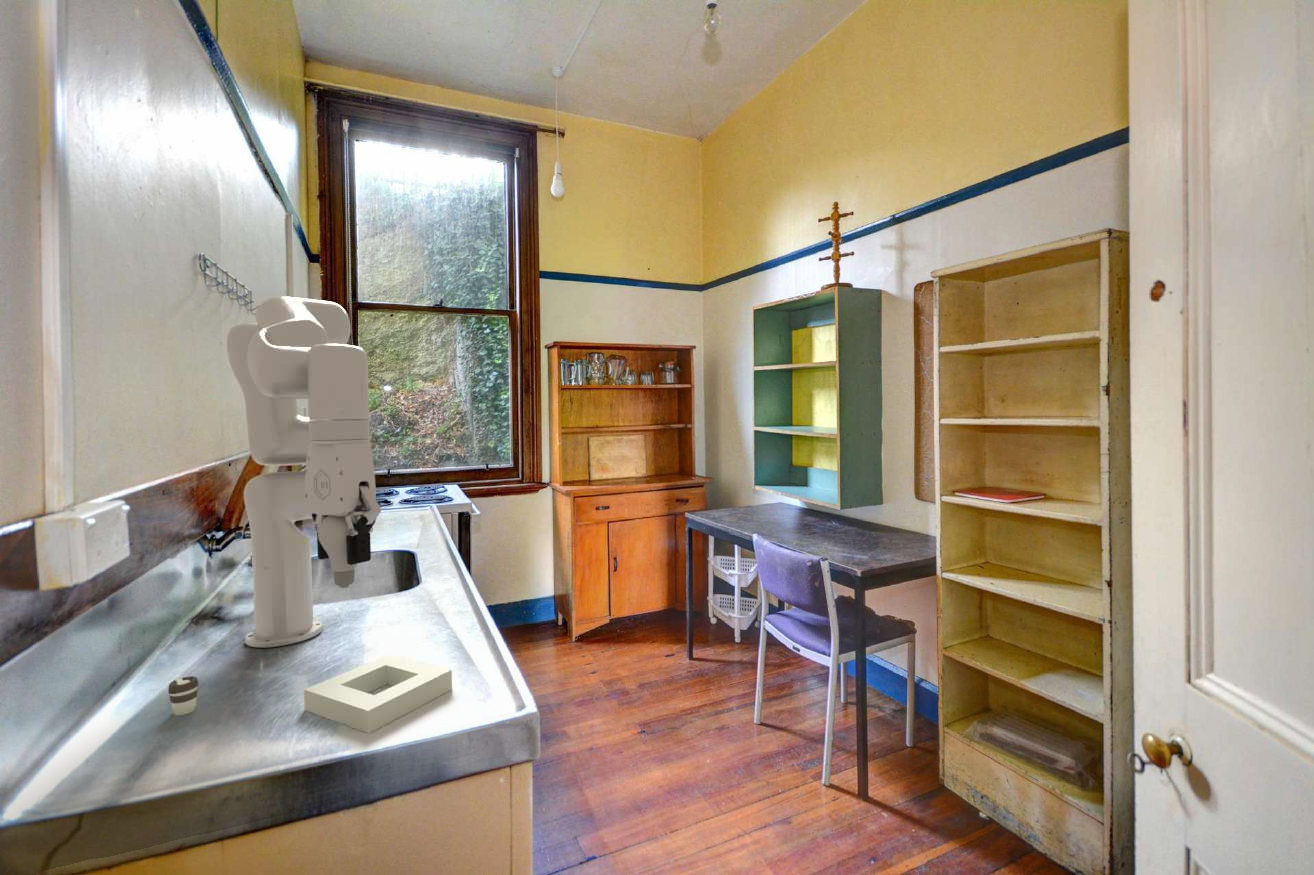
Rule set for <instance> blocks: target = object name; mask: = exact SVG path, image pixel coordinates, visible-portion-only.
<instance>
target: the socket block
mask: <svg viewBox="0 0 1314 875" xmlns="http://www.w3.org/2000/svg"><path fill="white" fill-rule="evenodd" d="M452 672H453V671H452V669H450V668H447V667H441V666H438V665H434V664H430V663H426V662H422V661H418V660H415V659H411V658H406V657H404V656H399V655H396V654H392V653H388V654H387V655H385V656H384V655H383V656H382V657H379V658H377V659H374V660H372V661H370V662H367V663H364V664H362V665H360V666H358V667H357V666H356V667H355V668H353V669H350V670H348V671H346V672H343V673H341V674H338V675H335V676H333V677H331V678H329V679H325V680H324V681H321V682H318V683H316V684H313V685H311V686H309V687H306V688H304V689H303V696H304V697H303V699H304V700H303V701H304V711H306V712H309V713H311V714H314V715H317V716H319V717H322V718H325V719H328V720H330V721H334V722H336V723H339V724H342V725H345V726H348V727H349V728H350V727H351V728H353V729H355V730H359V731H361V732H364V733H367V734H371V733H372V732H374V731H376V730H378V729H380V728H382V727H384V726H385V725H388V724H389V723H391V722H393V721H395V720H397V719H399V718H401V717H402V716H403V717H404V715H406V714H408V713H410V712H412V711H414V710H416V709H417V708H420V707H421V706H423V705H425V704H427V703H429V702H431V701H433V700H435V699H437V698H438V697H441V696H443V695H445V694H446V693H448V692H450V691H452V690H453V675H452V674H453V673H452ZM385 685H388V686H391V687H389V688H386V689H384V690H382V691H380V692H378V693H375V694H371V693H370V692H373V691H375V690H377V689H379V688H381V687H383V686H385Z"/></svg>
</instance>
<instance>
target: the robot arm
mask: <svg viewBox="0 0 1314 875" xmlns="http://www.w3.org/2000/svg"><path fill="white" fill-rule="evenodd" d="M255 321H256V322H246V323H239V324H237V325H234V326H233V327H231V328H230V329H229V331H228V333H227V336H226V351H227V352H226V353H227V356H228V361H229V365H230V367H231V370H232V372H233V374H234V377H235V379H236V381H237V383H238V384H239V387H240V389H241V391H242V394H243V396H244V403H245V416H246V428H247V439H248V446H249V452H250V456H251V458H252V460H253V461H254V462H255V463H257V464H258V465H260V466H266V467H267V466H268V467H280V466H283V467H284V466H300V465H305V470H293V471H292V470H291V471H290V470H289V471H288V470H287V471H276V472H267V473H263V474H259V475H257V476H254V477H252V478H250V479H249V481H248V482H247V483H246V484H245V486H244V490H243V500H244V501H243V502H244V506H245V510H246V514H247V519H248V525H249V530H250V531H249V532H250V540H251V542H250V543H251V559H252V560H251V561H252V564H251V566H252V587H253V614H251V616H250V621H252V622H254V629H253V630H252V631H250V632H248V633H247V634H246V636H244V637H245V638H244V640H245V641H244V642H245V644H246V645H247V646H248V647H252V648H260V649H261V648H262V649H263V648H274V647H281V646H282V647H285V646H288V645H293V644H296V643H302V642H304V641H307V640H309V639H312V638H314V637H316V636H318V635H319V634H320V633H322V631H323V629H324V628H323V627H324V625H323V624H324V623H323V622H322V621H320V620H317V619H314V603H313V602H314V600H313V577H312V576H313V574H312V572H313V570H312V569H313V568H312V549H311V548H312V547H311V546H312V545H311V541H310V539H309V538H308V536H307V535H306V534H305V533H304V532H303V531H302V530H301V529H299V528H298V527H297V526H296V525H295V522H297V521H298V522H299V521H303V520H309V519H310V520H311V519H313V521H314V530H315V531H316V538H317V539H316V543H317V545H316V546H317V559H318V560H326V559H330V558H329V556H328V554H327V552H326V551H325V549H324V548H323V546H322V545H321V543H320V541H319V538H318V530H319V527H320V524H321V523H322V521H323V520H324V519H325V518H326V517H327V516H345V519H346V522H347V526H348V530H349V533H350V535H349V536H346V543H347V563H348V564H349V565H354V564H356V565H357V564H361V563H367V562H369V561H371V560H372V553H371V552H372V550H371V544H372V543H371V533H372V532H373V531H374V529H373V527H374V525H375V523H376V521H377V518H378V517H379V515H380V514H381V512H382V508H381V506H380V504H379V503H378V501H377V500H376V499H377V498H376V496H377V492H376V491H377V490H376V488H377V486H376V478H375V477H376V476H375V474H376V473H375V466H374V465H375V464H374V458H373V453H372V448H371V434H370V433H371V429H370V427H371V426H370V402H369V401H370V399H369V398H370V397H369V369H368V368H369V367H368V366H369V364H368V355H367V352H366V351H365V349H363V348H362V347H360V346H356V345H350V344H348V342H349V339H350V336H351V335H350V334H351V330H352V329H351V321H350V318H349V315H348V313H347V311H346V309H344V308H343V307H342V306H341V305H340V304H338V303H336V302H333V301H328V300H318V299H313V298H312V299H311V298H304V297H294V296H293V297H291V296H274V297H270V298H268V299H266V300H264V301H262V303H260V305H258V307H257V309H256V312H255ZM304 399H307V402H308V404H307V405H308V416H301V415H300V414H299V409H298V408H299V407H298V400H304ZM356 517H360V519H359V520H358V522H357V523H356V522H355V518H356Z"/></svg>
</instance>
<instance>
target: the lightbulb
mask: <svg viewBox="0 0 1314 875" xmlns="http://www.w3.org/2000/svg"><path fill="white" fill-rule="evenodd" d="M359 519H360V517H356V518H355V522H356V523H357V522H358V520H359ZM317 532H318V538H319V541H320V543H321V545H322V546H323V548H324V549H325V551H326V552H327V554H328V556H329V558H328V559H329V562H330V568H331V571H332V572H333V581H334V582H333V583H334V585H335V586H337V587H340V588H341V589H344V588H345V589H346V588H349V587H350V585H352V584H354V582H355V575H356V572H355V571H356V568H357V564H354V565H349V564H348V563H347V543H346V536H349V535H350V533H349V530H348V526H347V522H346V519H345V516H327V517H326V518H325V519H324V520H323V521H322V523H321V524H320V527H319V530H318V531H317Z"/></svg>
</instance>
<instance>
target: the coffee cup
mask: <svg viewBox="0 0 1314 875" xmlns="http://www.w3.org/2000/svg"><path fill="white" fill-rule="evenodd" d="M198 686H199V680H198V677H196V676H185V677H180V678H179V679H177V680H176V679H174V680H172V681H171V682H170V683H169V685H168V694H169V700H170V703H171V709H172V714H173V715H174V716H183V715H186V714H190V713H192V712H194V711H195V710H196V705H197V696H198V690H199V689H198Z"/></svg>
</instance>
